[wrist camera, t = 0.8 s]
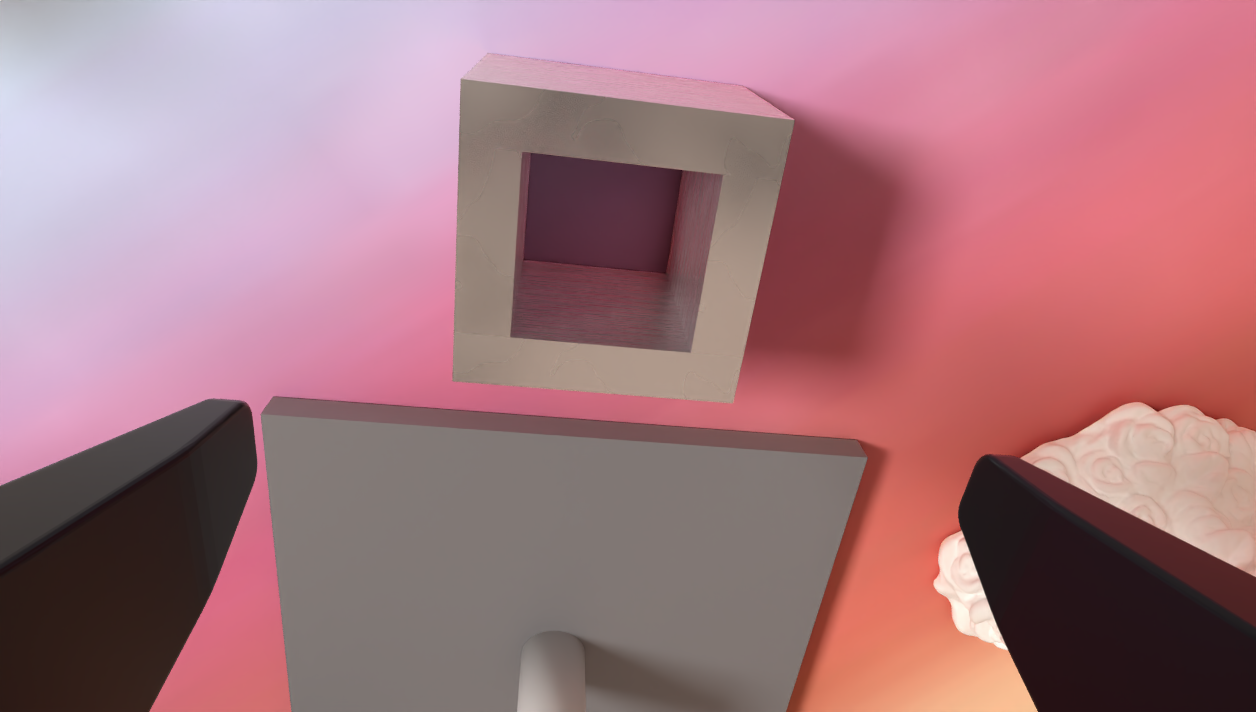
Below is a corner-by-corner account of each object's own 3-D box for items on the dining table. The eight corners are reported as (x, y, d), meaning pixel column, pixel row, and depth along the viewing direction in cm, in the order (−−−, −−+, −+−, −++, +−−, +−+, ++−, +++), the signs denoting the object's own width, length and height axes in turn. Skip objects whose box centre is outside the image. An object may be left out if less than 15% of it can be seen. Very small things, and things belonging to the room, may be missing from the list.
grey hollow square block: (700, 315, 22) (733, 402, 18) (477, 295, 21) (452, 381, 17) (743, 85, 19) (794, 120, 15) (488, 53, 18) (460, 78, 14)
